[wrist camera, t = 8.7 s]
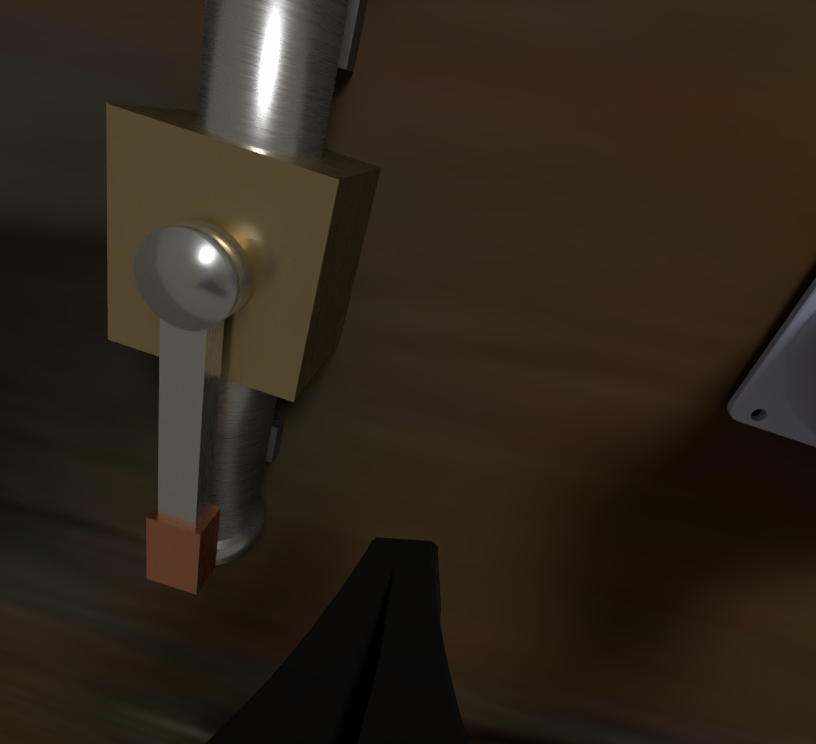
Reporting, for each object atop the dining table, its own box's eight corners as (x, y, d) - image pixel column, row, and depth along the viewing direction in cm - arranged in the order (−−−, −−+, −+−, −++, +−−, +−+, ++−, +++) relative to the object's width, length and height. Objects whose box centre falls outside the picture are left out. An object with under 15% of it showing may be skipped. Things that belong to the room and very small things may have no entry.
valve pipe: (471, -214, 13) (457, -398, 8) (299, 509, 25) (255, 591, 20) (238, -284, 13) (102, -503, 8) (179, 467, 25) (109, 540, 20)
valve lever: (163, 207, 14) (129, 214, 12) (258, 235, 14) (234, 245, 12) (159, 547, 20) (136, 575, 19) (224, 568, 20) (206, 597, 19)
